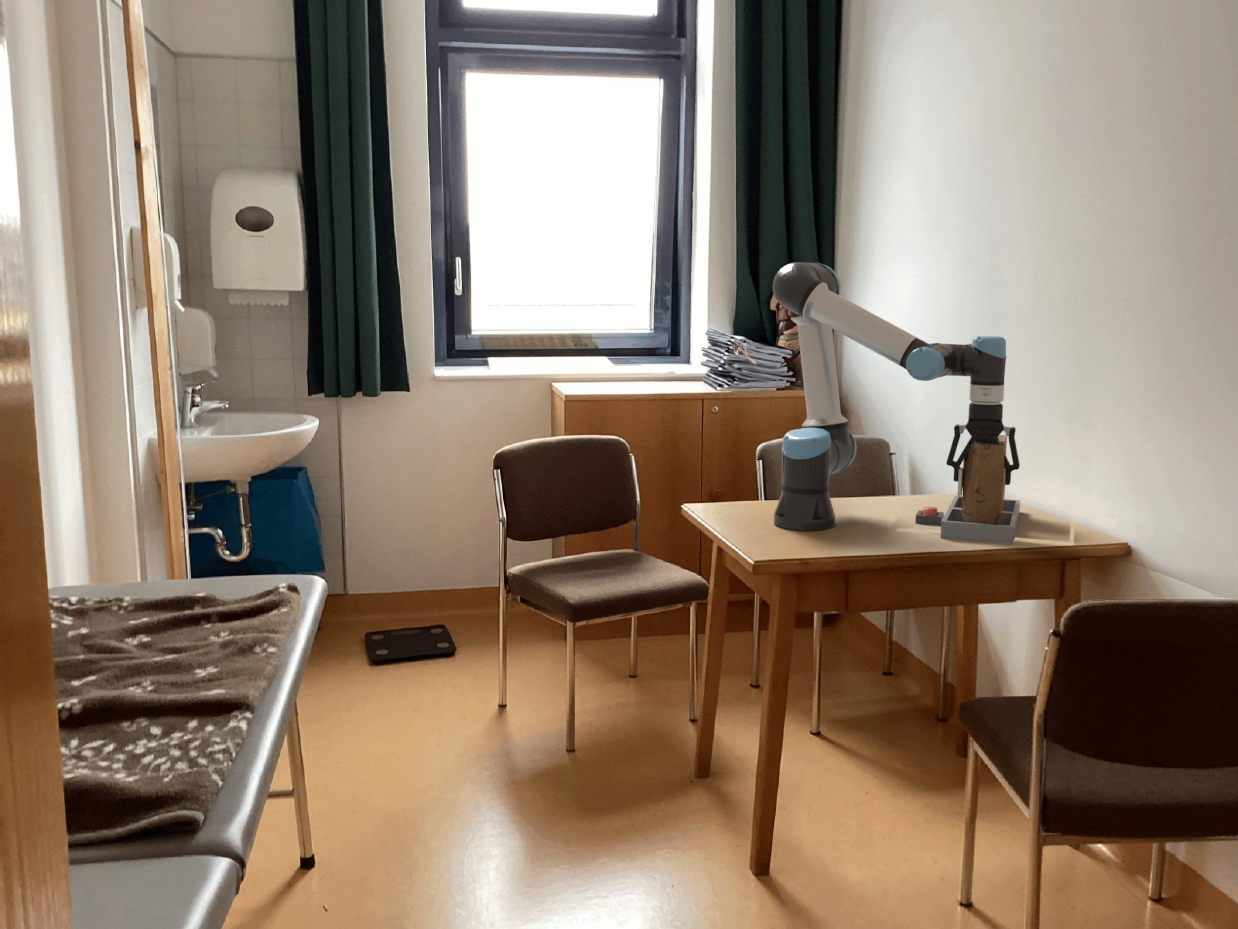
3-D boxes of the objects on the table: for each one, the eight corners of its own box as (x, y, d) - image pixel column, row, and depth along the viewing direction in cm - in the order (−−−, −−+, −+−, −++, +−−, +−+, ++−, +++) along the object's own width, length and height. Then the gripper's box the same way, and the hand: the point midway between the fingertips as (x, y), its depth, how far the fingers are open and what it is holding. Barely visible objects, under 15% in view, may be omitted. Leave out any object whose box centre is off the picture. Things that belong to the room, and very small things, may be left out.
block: (1002, 529, 245) (1008, 444, 242) (970, 528, 245) (976, 444, 242) (986, 518, 256) (992, 437, 252) (955, 518, 256) (961, 437, 252)
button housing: (915, 527, 258) (915, 515, 257) (918, 521, 263) (919, 510, 263) (940, 529, 255) (941, 517, 255) (943, 523, 261) (943, 512, 260)
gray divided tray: (940, 537, 247) (941, 521, 246) (954, 510, 276) (955, 495, 275) (1012, 544, 241) (1013, 527, 240) (1019, 515, 270) (1020, 500, 269)
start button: (921, 522, 258) (922, 509, 258) (923, 520, 261) (923, 506, 261) (935, 524, 257) (936, 510, 256) (937, 521, 260) (938, 507, 259)
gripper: (936, 402, 246) (931, 496, 250) (1035, 406, 238) (1029, 503, 242) (940, 399, 253) (935, 490, 257) (1036, 402, 245) (1030, 497, 249)
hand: (980, 496), depth 249 cm, fingers closed on block, 9 cm apart
